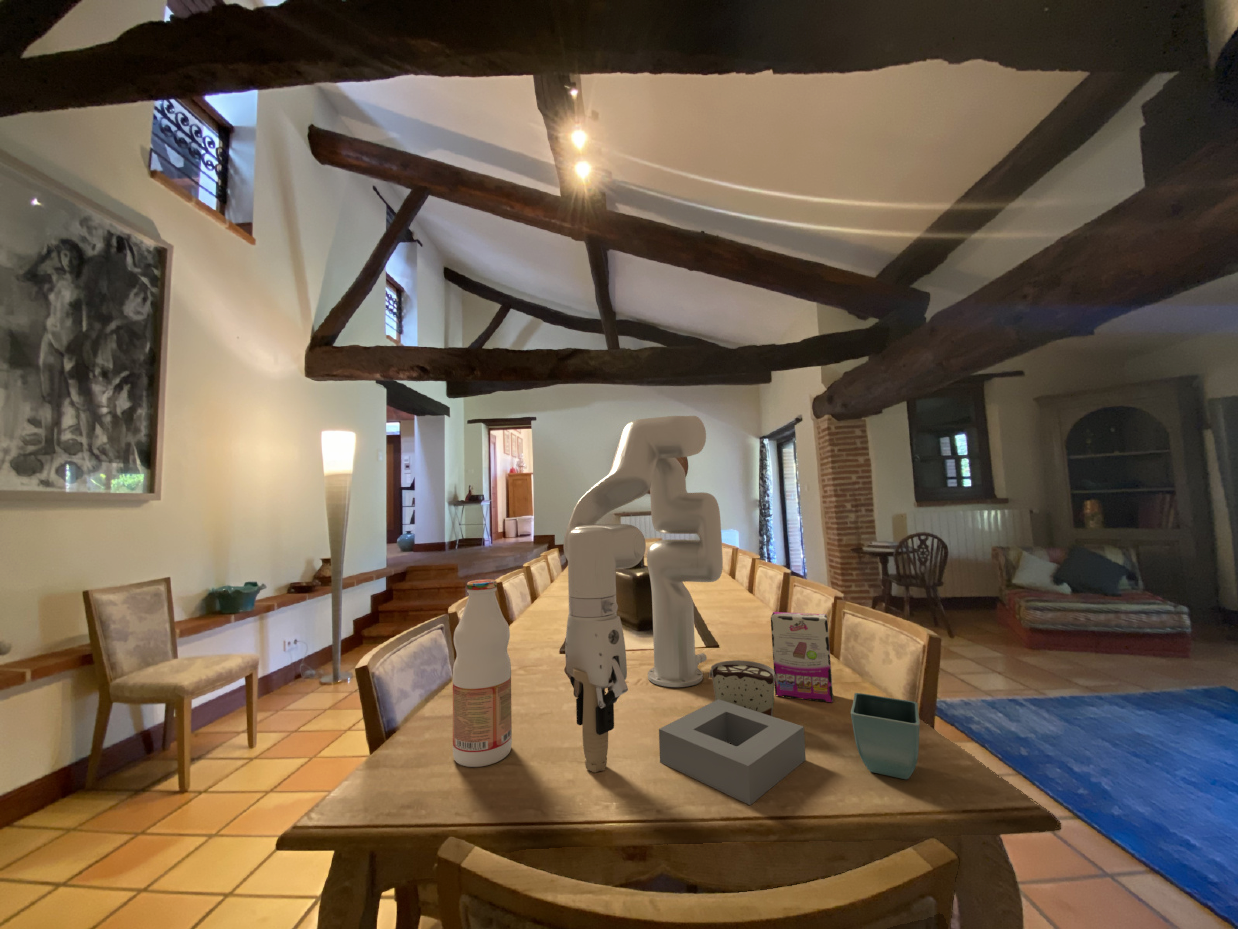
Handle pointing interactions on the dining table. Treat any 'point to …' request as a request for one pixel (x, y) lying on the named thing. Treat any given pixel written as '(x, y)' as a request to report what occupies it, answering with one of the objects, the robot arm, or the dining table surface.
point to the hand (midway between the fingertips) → (595, 725)
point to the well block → (733, 749)
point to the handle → (591, 727)
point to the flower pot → (886, 734)
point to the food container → (745, 684)
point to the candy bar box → (802, 656)
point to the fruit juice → (481, 680)
